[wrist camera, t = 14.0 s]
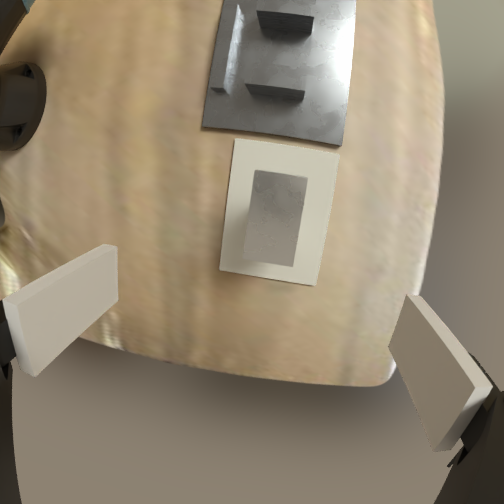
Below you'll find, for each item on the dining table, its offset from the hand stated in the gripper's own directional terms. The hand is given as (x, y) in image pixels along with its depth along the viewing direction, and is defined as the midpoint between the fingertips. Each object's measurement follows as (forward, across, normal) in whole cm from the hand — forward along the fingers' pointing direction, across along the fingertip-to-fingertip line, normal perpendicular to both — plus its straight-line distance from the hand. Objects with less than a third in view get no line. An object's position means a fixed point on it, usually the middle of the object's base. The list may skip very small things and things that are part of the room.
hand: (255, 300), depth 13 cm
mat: (+25, 0, 0) cm, 25 cm away
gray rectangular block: (+24, 0, +1) cm, 24 cm away
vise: (+25, -2, +21) cm, 32 cm away
